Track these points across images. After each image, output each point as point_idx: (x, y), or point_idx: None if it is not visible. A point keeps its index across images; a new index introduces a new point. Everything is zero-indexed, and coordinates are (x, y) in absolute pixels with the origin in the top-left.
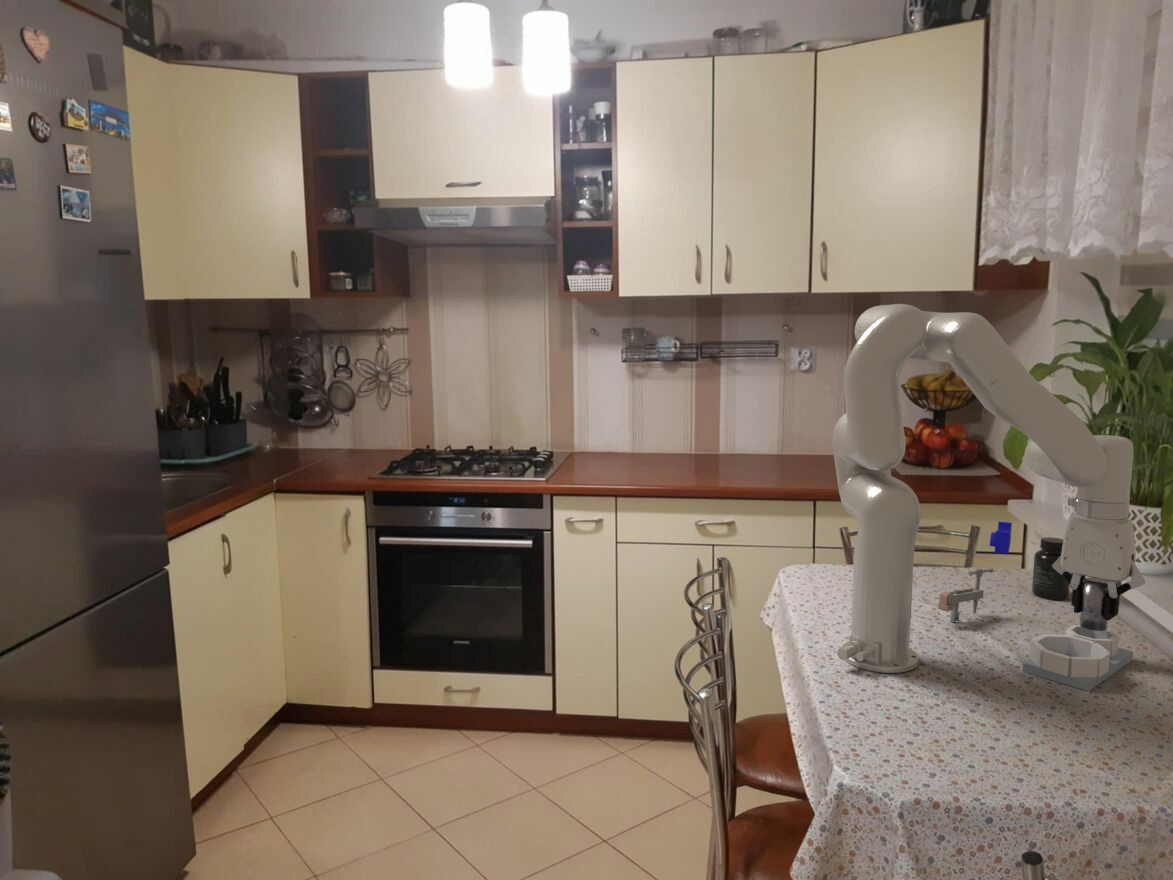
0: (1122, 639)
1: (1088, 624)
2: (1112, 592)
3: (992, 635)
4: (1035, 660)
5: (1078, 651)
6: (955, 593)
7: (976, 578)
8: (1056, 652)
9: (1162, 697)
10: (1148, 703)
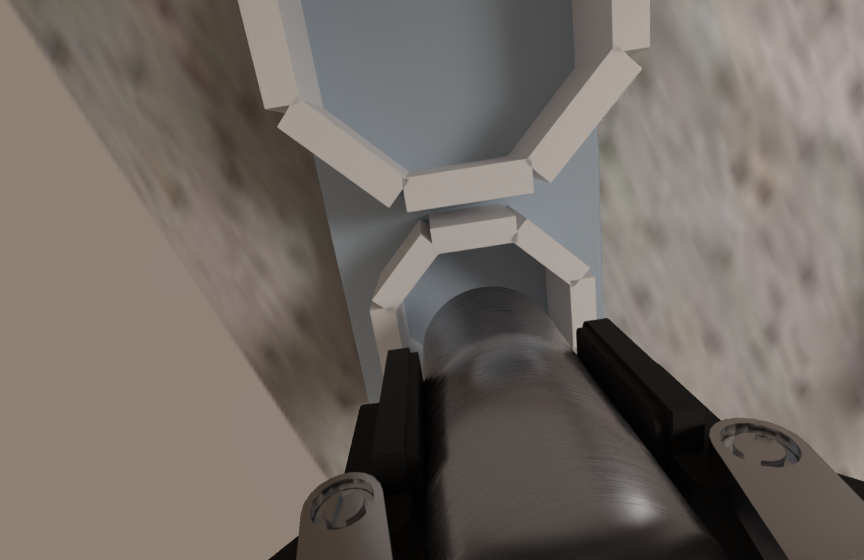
0: None
1: (489, 297)
2: (355, 528)
3: (849, 178)
4: None
5: (463, 164)
6: None
7: None
8: (541, 114)
9: (100, 134)
10: (76, 13)
